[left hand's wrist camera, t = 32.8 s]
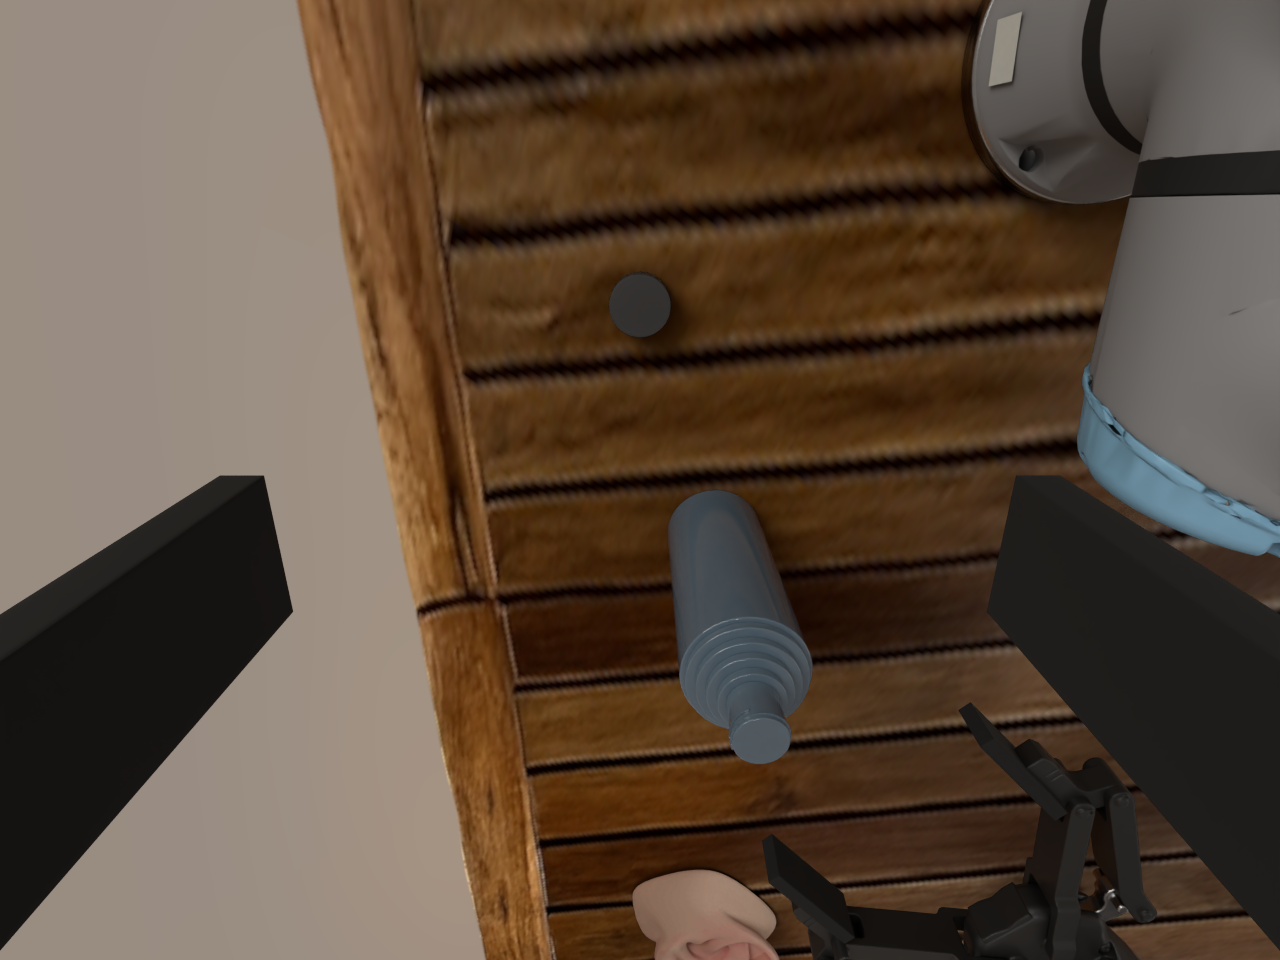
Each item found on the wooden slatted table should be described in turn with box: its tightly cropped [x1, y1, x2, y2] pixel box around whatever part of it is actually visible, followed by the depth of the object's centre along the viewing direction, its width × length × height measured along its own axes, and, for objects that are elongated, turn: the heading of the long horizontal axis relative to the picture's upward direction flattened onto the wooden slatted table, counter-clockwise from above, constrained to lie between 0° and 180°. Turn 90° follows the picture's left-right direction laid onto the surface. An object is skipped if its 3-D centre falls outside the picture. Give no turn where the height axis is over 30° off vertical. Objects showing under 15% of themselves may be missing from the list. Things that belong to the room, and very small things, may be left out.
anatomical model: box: [633, 870, 779, 960], centre depth 63 cm, size 13×4×12 cm
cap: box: [609, 271, 671, 337], centre depth 43 cm, size 4×4×2 cm
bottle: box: [668, 490, 812, 764], centre depth 40 cm, size 7×7×21 cm
